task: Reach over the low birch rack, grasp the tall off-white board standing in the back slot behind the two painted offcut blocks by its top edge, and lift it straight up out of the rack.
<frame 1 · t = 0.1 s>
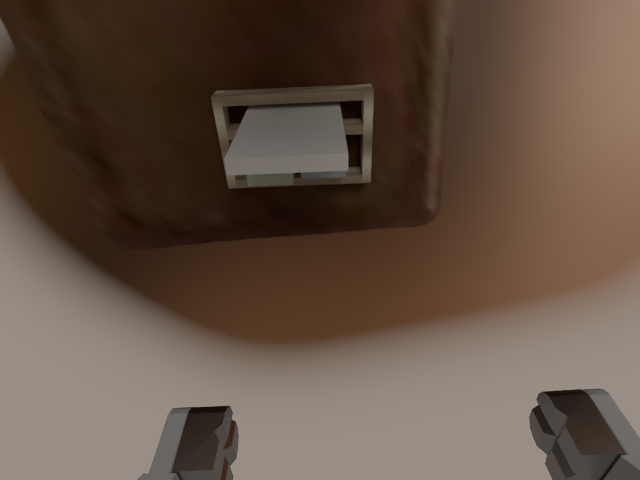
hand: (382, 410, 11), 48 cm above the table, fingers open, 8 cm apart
sage offcut: (273, 150, 57), resting in birch rack
slate offcut: (322, 148, 57), resting in birch rack
birch rack: (297, 137, 56), on the table
tall board: (294, 108, 53), resting in birch rack
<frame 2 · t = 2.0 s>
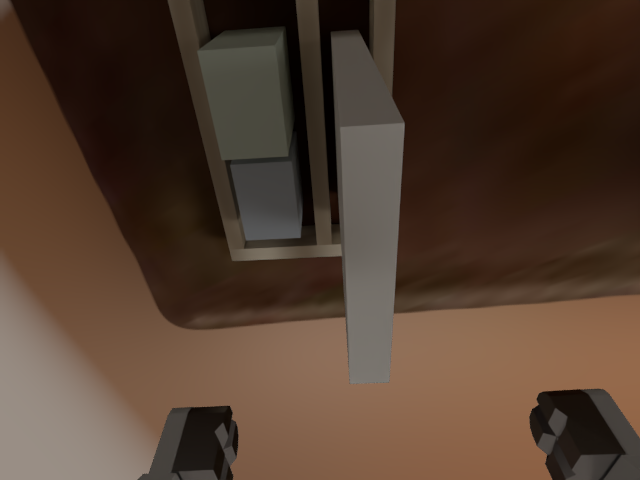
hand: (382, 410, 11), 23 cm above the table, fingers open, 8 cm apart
sage offcut: (262, 76, 27), resting in birch rack
slate offcut: (275, 168, 32), resting in birch rack
birch rack: (293, 124, 29), on the table
tall board: (346, 121, 29), resting in birch rack
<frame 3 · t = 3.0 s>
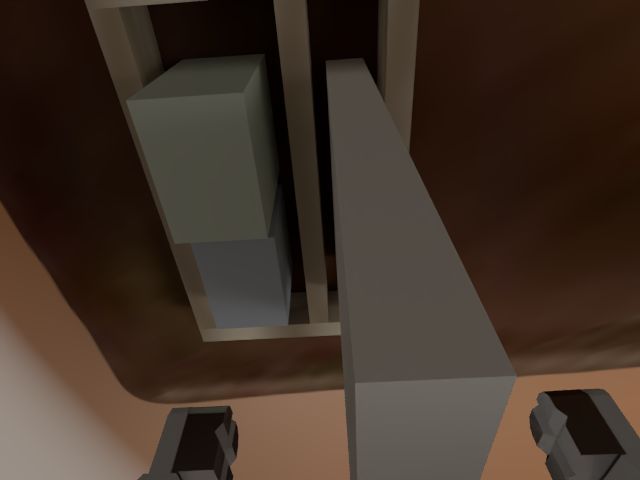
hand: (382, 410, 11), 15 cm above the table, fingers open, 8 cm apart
sage offcut: (235, 118, 21), resting in birch rack
slate offcut: (256, 228, 25), resting in birch rack
birch rack: (277, 176, 23), on the table
tall board: (347, 172, 23), resting in birch rack
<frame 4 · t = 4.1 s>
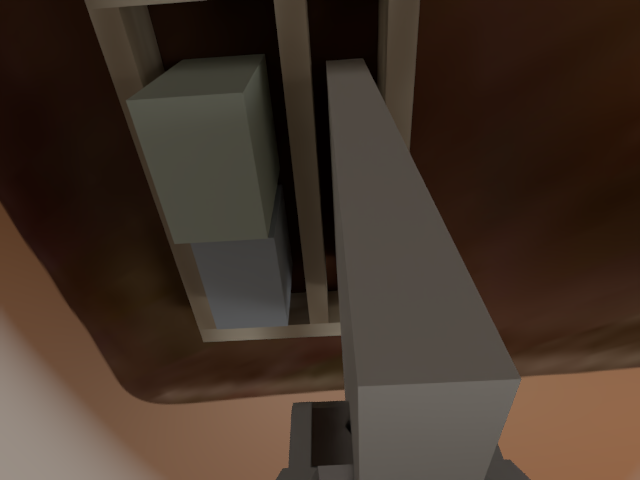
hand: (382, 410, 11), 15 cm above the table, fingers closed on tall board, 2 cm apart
sage offcut: (235, 118, 21), resting in birch rack
slate offcut: (256, 228, 25), resting in birch rack
birch rack: (277, 177, 23), on the table
tall board: (347, 172, 23), resting in birch rack, touching gripper
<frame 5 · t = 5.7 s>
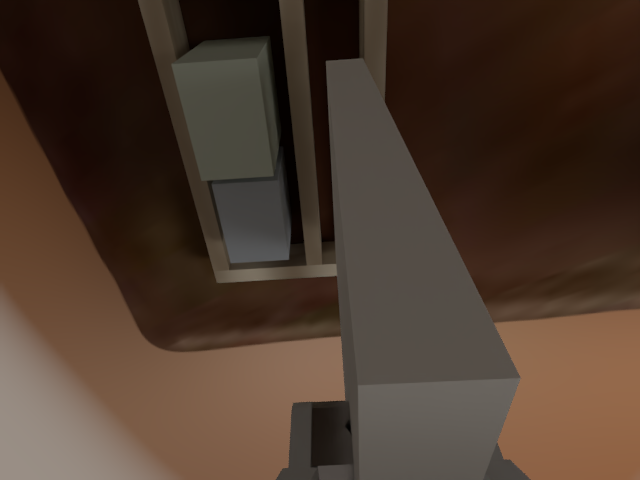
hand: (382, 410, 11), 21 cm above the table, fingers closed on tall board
sage offcut: (245, 89, 26), resting in birch rack
slate offcut: (261, 185, 30), resting in birch rack
birch rack: (279, 139, 28), on the table
tall board: (347, 172, 23), point 6 cm above the table, touching gripper
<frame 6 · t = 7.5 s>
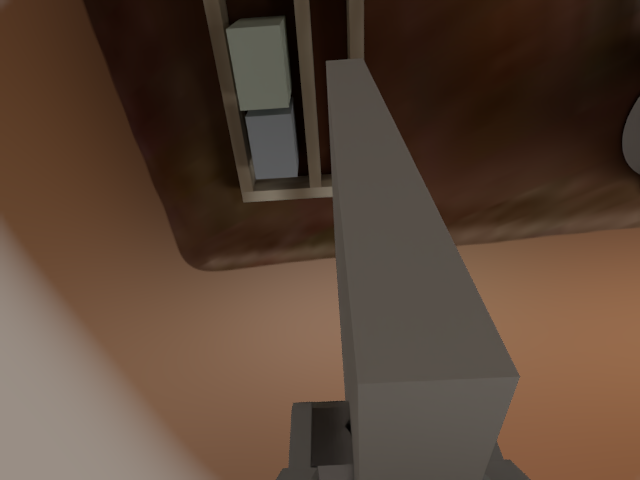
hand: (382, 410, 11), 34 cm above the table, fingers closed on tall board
sage offcut: (267, 53, 37), resting in birch rack
slate offcut: (277, 127, 41), resting in birch rack
birch rack: (290, 91, 38), on the table
tall board: (347, 172, 23), point 19 cm above the table, touching gripper
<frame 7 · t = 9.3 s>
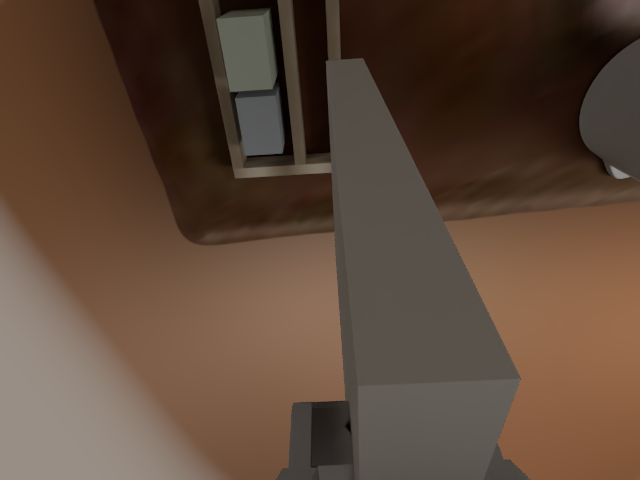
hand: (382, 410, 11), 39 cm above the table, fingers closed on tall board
sage offcut: (255, 42, 41), resting in birch rack
slate offcut: (265, 110, 45), resting in birch rack
birch rack: (277, 77, 43), on the table
tall board: (347, 172, 23), point 24 cm above the table, touching gripper
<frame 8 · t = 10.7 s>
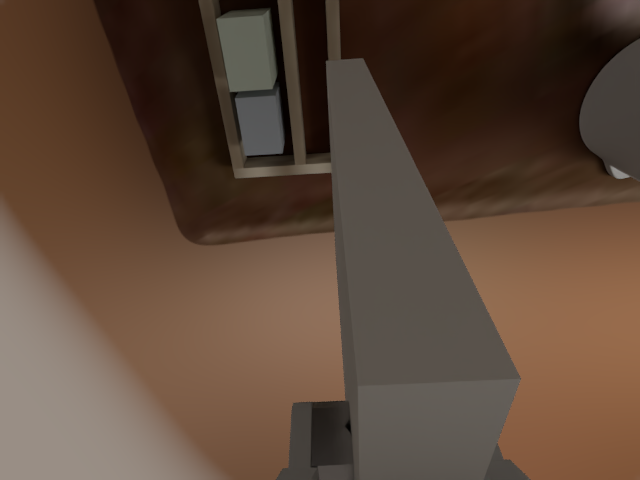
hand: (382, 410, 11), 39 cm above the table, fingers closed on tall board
sage offcut: (255, 42, 41), resting in birch rack
slate offcut: (265, 110, 45), resting in birch rack
birch rack: (277, 77, 43), on the table
tall board: (347, 172, 23), point 24 cm above the table, touching gripper
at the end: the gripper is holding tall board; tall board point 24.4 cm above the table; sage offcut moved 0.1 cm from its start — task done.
